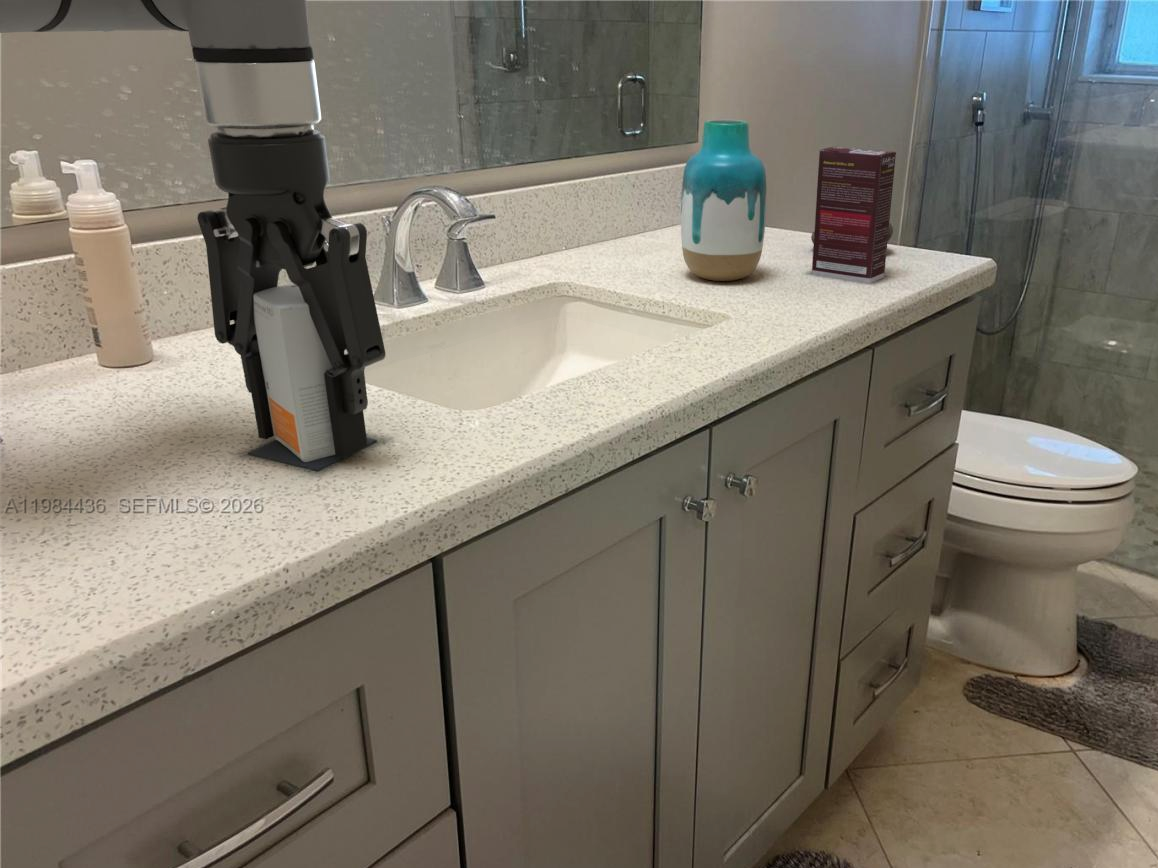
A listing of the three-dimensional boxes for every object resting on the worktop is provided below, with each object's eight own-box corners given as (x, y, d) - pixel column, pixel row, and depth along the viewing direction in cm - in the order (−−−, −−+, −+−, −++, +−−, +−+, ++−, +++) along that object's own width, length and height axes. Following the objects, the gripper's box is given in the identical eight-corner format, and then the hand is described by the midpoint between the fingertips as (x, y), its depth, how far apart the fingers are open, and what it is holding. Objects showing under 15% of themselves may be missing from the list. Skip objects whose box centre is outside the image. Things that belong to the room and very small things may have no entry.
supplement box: (885, 279, 135) (898, 150, 128) (869, 286, 131) (882, 154, 124) (825, 269, 139) (835, 145, 132) (808, 276, 136) (818, 148, 129)
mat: (248, 458, 80) (247, 452, 79) (310, 430, 85) (309, 424, 85) (318, 475, 77) (317, 469, 77) (377, 445, 82) (377, 439, 82)
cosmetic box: (272, 440, 82) (246, 289, 76) (324, 428, 84) (303, 281, 79) (303, 464, 78) (278, 307, 72) (357, 451, 80) (336, 297, 75)
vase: (778, 283, 132) (788, 123, 123) (709, 293, 127) (713, 127, 118) (731, 266, 140) (737, 115, 131) (664, 275, 135) (665, 119, 126)
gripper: (418, 132, 70) (447, 447, 80) (203, 116, 78) (254, 405, 88) (340, 144, 64) (382, 483, 74) (116, 125, 71) (181, 435, 81)
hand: (312, 440), depth 81 cm, fingers closed on cosmetic box, 7 cm apart
